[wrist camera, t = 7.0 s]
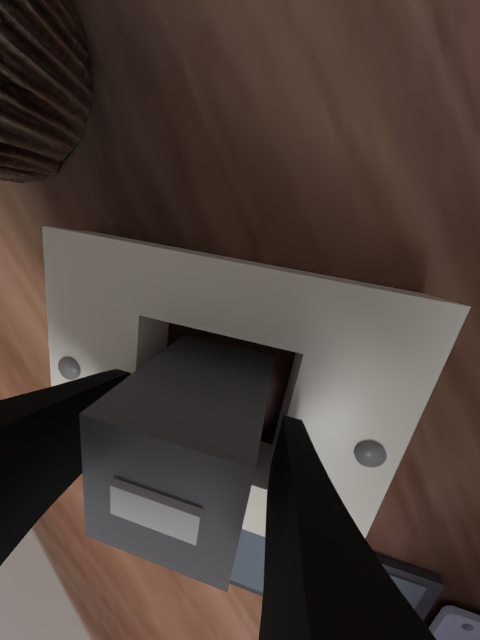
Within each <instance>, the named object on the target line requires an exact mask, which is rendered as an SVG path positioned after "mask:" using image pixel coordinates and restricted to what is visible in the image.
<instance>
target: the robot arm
mask: <svg viewBox="0 0 480 640" xmlns="http://www.w3.org/2000/svg"><path fill="white" fill-rule="evenodd" d="M130 375H131V373H130V372H126V371H122V370H119V369H113V370H108V371H104V372H101V373H97V374H93V375H90V376H86V377H83V378H80V379H76V380H73V381H69V382H66V383H62V384H59V385H55V386H52V387H49V388H45V389H41V390H37V391H34V392H30V393H26V394H22V395H19V396H15V397H11V398H7V399H3V400H0V566H1V564H2V563H3V562H4V561H5V559H6V558H7V557H8V556H9V555H10V553H11V552H12V551H13V550H14V548H15V547H16V546H17V545H18V543H19V542H20V541H21V540H22V539H23V537H24V536H25V535H26V534H27V533H28V531H29V530H30V529H31V528H32V527H33V525H34V524H35V523H36V522H37V521H38V519H39V518H40V517H41V516H42V515H43V514H44V513H45V512H46V510H47V509H48V508H49V507H50V506H51V505H52V504H53V503H54V502H55V501H56V500H57V499H58V498H59V497H60V495H61V494H62V493H63V492H64V491H65V490H66V489H67V488H68V487H69V486H70V485H71V484H72V483H73V482H74V481H75V480H76V479H77V478H78V477H79V476H80V475H81V474H82V473H83V472H82V455H81V437H80V420H79V414H80V413H81V412H82V411H84V410H85V409H86V408H88V407H89V406H90V405H92V404H93V403H94V402H95V401H97V400H98V399H99V398H101V397H102V396H103V395H105V394H106V393H107V392H109V391H110V390H111V389H113V388H114V387H115V386H117V385H118V384H119V383H121V382H122V381H123V380H124V379H126V378H127V377H128V376H130ZM259 640H480V615H478V614H475V613H472V612H469V611H467V610H464V609H461V608H458V607H455V606H451V605H450V606H444V607H443V608H441V610H440V611H439V613H438V614H437V616H436V617H435V619H434V620H433V622H432V623H431V625H430V626H429V628H428V627H427V626H426V625H425V623H424V622H423V621H422V619H421V618H420V617H419V615H418V614H417V613H416V611H415V610H414V609H413V607H412V606H411V604H410V603H409V602H408V600H407V599H406V598H405V596H404V595H403V594H402V592H401V591H400V590H399V588H398V587H397V585H396V584H395V583H394V581H393V580H392V578H391V577H390V575H389V574H388V573H387V571H386V570H385V568H384V567H383V565H382V564H381V562H380V561H379V559H378V558H377V556H376V555H375V553H374V552H373V550H372V549H371V547H370V546H369V544H368V543H367V541H366V539H365V538H364V536H363V535H362V533H361V532H360V530H359V528H358V527H357V525H356V523H355V522H354V520H353V519H352V517H351V515H350V514H349V512H348V510H347V508H346V507H345V505H344V503H343V501H342V500H341V498H340V496H339V494H338V493H337V491H336V489H335V487H334V485H333V484H332V482H331V480H330V478H329V476H328V474H327V472H326V470H325V468H324V466H323V464H322V462H321V460H320V458H319V456H318V454H317V452H316V450H315V448H314V446H313V443H312V441H311V439H310V437H309V434H308V432H307V430H306V427H305V425H304V423H303V421H302V420H300V419H296V418H293V417H289V416H286V415H283V419H282V423H281V427H280V431H279V434H278V438H277V442H276V446H275V449H274V453H273V457H272V461H271V467H270V474H269V482H268V490H267V504H266V531H265V559H264V586H263V601H262V614H261V623H260V633H259Z"/></svg>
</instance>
